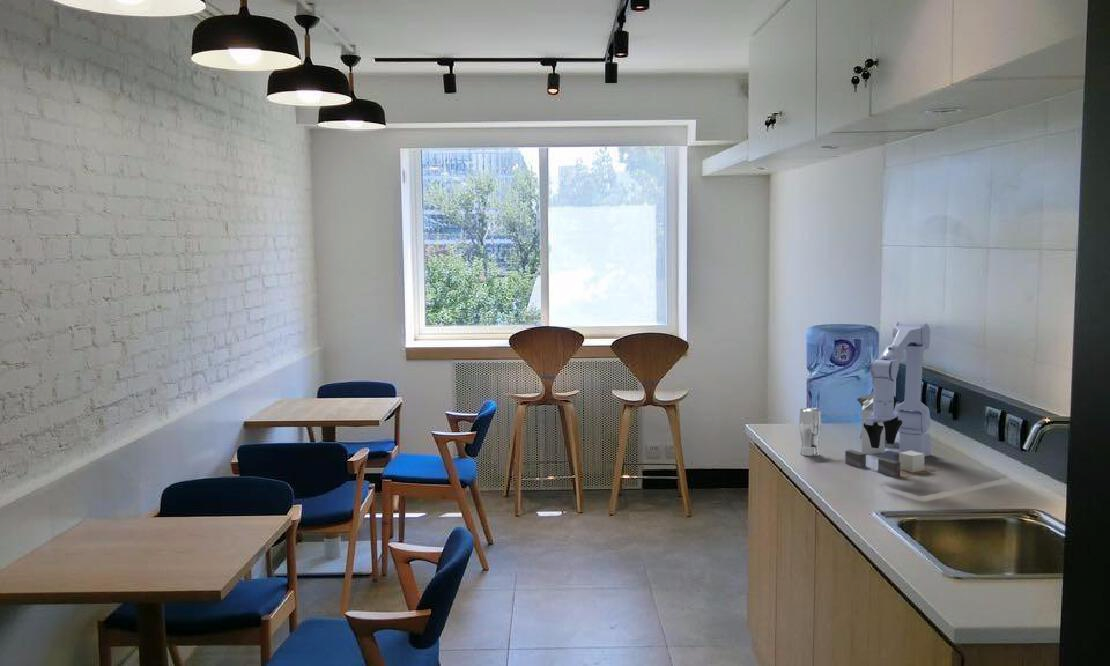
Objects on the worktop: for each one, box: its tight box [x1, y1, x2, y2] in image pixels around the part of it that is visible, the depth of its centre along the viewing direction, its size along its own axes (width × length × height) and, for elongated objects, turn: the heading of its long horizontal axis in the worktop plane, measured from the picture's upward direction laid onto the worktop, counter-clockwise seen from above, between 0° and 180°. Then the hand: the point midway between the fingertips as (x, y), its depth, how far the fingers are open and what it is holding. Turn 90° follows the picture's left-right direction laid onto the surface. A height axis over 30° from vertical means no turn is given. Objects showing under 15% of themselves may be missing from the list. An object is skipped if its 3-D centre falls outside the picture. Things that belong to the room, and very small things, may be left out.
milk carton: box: [860, 399, 886, 456], centre depth 294 cm, size 7×7×19 cm
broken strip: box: [844, 449, 867, 468], centre depth 279 cm, size 18×9×5 cm, turn 118°
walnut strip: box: [872, 457, 941, 480], centre depth 268 cm, size 18×10×5 cm, turn 118°
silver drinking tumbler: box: [798, 407, 822, 458], centre depth 295 cm, size 7×7×15 cm
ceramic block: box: [898, 451, 926, 473], centre depth 269 cm, size 5×5×5 cm
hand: (882, 445), depth 265 cm, fingers open, 7 cm apart
